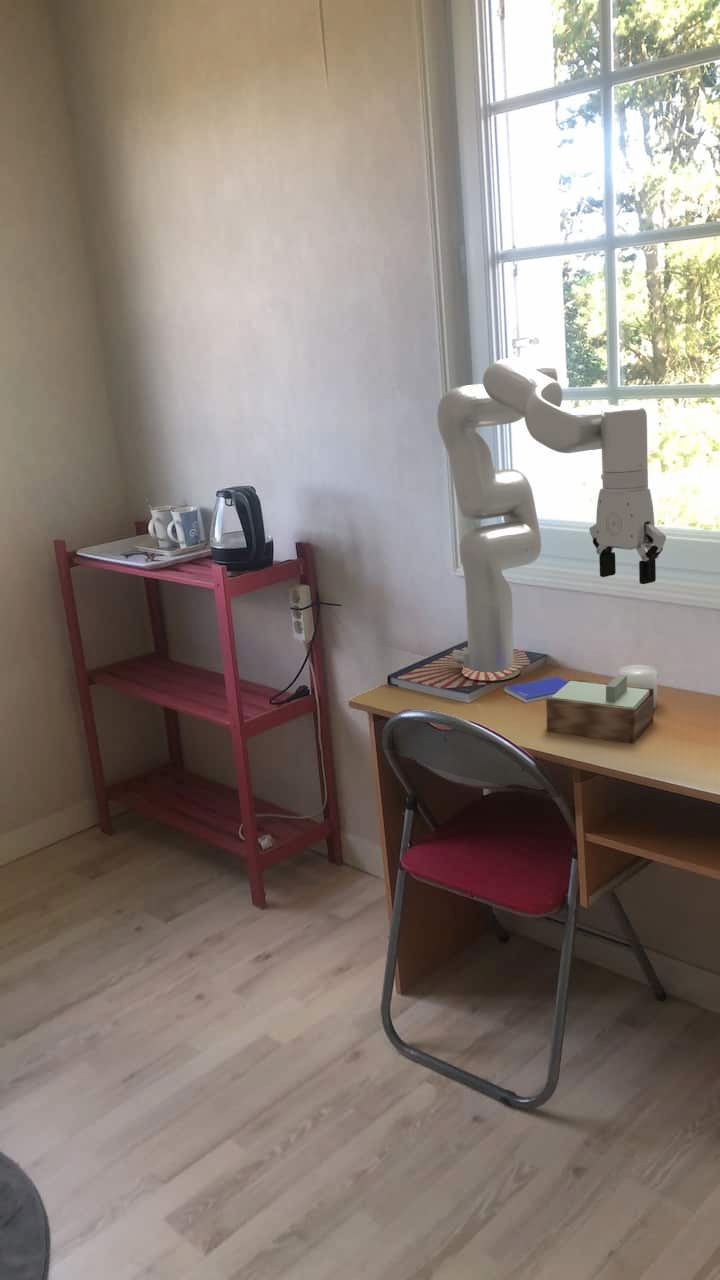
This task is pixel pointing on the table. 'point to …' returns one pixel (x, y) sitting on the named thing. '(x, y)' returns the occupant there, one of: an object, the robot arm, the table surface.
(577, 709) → the walnut box
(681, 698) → the table surface
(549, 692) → the blue book
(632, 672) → the white round canister
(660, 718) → the table surface
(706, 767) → the table surface
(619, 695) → the lid
